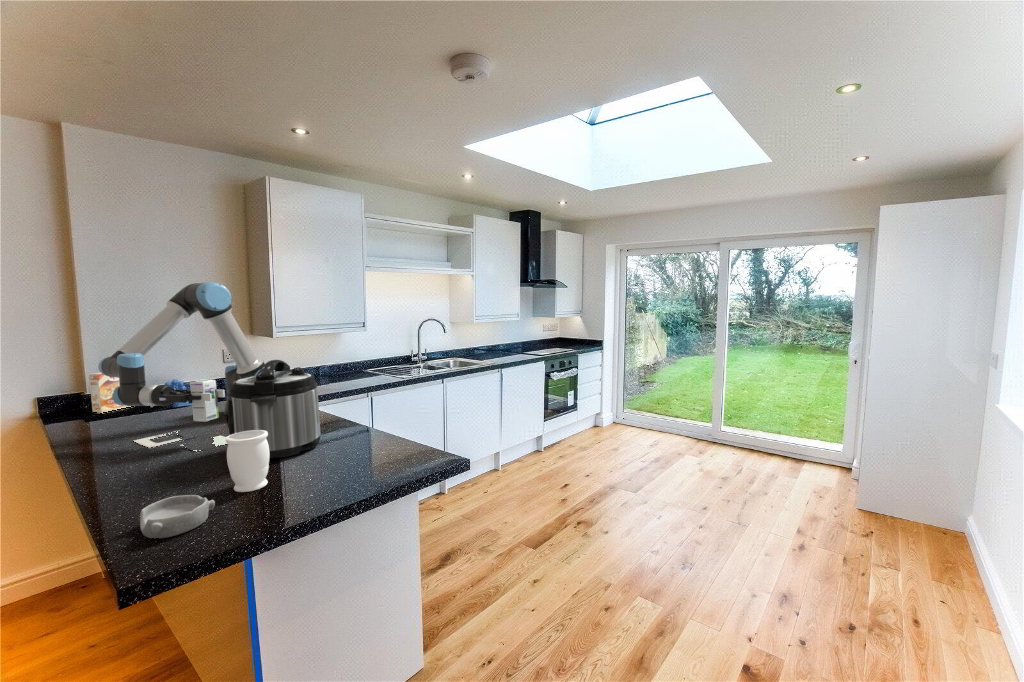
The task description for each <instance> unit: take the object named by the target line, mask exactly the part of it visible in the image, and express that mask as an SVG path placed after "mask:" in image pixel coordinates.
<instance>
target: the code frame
mask: <svg viewBox="0 0 1024 682" xmlns="http://www.w3.org/2000/svg"><path fill="white" fill-rule="evenodd" d="M176 431H177V432H176ZM178 431H179V430H175V431H174V432H176V433H178ZM172 432H173V431H172ZM172 432H171V434H172ZM167 433H168V434H169V435H170V432H167ZM163 434H164V435H163ZM163 434H158V435H152V436H148V437H147V436H146V437H143V438H139V439H138V438H137V439H135V440H132V442H133V441H134V442H133V443H135V442H136V443H135V444H137V443H138V444H137V445H140V446H142V445H143V446H142V447H144V446H145V448H147V447H148V448H147V449H152V448H151V447H153V448H157V447H156V446H158V447H161V446H160V445H162V446H164V445H163V444H166V445H168V444H167V443H171V442H175V441H179V440H182V439H180V438H181V437H178V438H173V439H169V440H163V441H161V442H155V441H153V440H155V439H154V438H157V439H159V438H158V437H162V436H166V433H163ZM177 435H178V434H177ZM177 435H176V436H177ZM166 437H167V436H166ZM162 438H163V437H162ZM150 439H153V440H150ZM179 442H180V441H179ZM175 443H176V442H175ZM171 444H172V443H171Z"/></svg>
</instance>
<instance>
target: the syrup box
mask: <svg viewBox="0 0 1024 682" xmlns="http://www.w3.org/2000/svg"><path fill="white" fill-rule="evenodd" d="M189 387H190V388H189V389H191V394H192V396H193V394H194V393H211V395H212V401H193V400H192V403H191V408H192V416H193V422H209V421H211V420H216V419H219V417H220V415H219V414H220V413H219V412H220V411H219V405H218V404H219V402H218V397H217V390H218V389H217V382H216V379H210V378H207V379H201V380H197V381H191V382H189Z"/></svg>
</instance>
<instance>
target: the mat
mask: <svg viewBox="0 0 1024 682" xmlns="http://www.w3.org/2000/svg"><path fill="white" fill-rule="evenodd" d="M212 437H213V438H214V439H213V440H214V442H213V443H212V444H215V446H216V447H217V446H218V445H219V446H220V445H224V446H226V445H225V444H228V443H227V442H226V437H227V436H224V435H221V434H220V435H217V436H212ZM183 444H184V443H183ZM183 444H182V443H181V444H179V445H180V446H184V445H183ZM180 446H179V447H180ZM185 448H186V447H185ZM185 448H184V449H185ZM217 448H218V447H217ZM193 451H196V452H197V450H193ZM193 451H192V452H193ZM199 451H201V450H199ZM196 452H195V453H196ZM201 452H202V451H201ZM197 453H198V452H197Z"/></svg>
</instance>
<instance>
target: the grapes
mask: <svg viewBox="0 0 1024 682" xmlns="http://www.w3.org/2000/svg"><path fill="white" fill-rule="evenodd" d="M184 384H185V382H184V381H182V380H180V381H179V380H178V379H177V378H175V379H172V380H171V381H166V382H165V383H164V385H169V386H172V387H173V388H174V389H175V390H176V389H181V390H186V389H187V387H186V385H184Z"/></svg>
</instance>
